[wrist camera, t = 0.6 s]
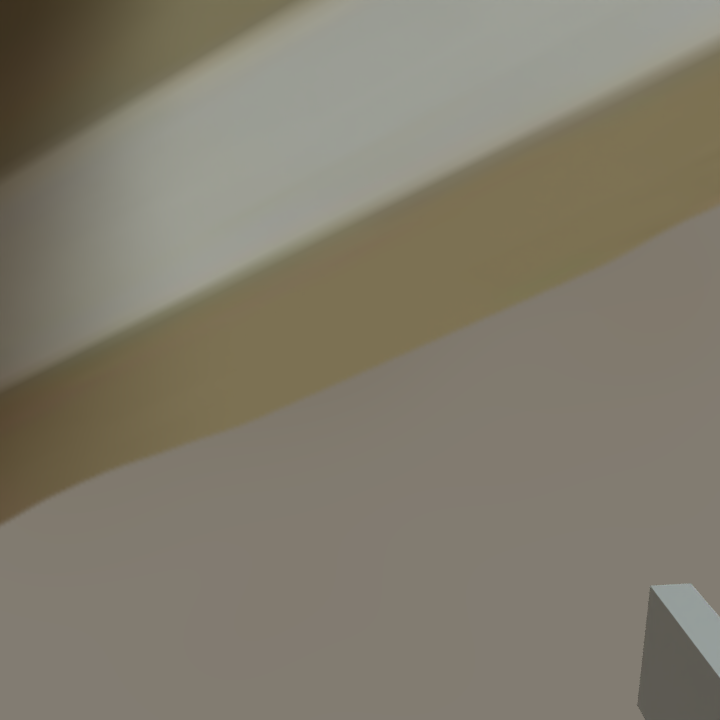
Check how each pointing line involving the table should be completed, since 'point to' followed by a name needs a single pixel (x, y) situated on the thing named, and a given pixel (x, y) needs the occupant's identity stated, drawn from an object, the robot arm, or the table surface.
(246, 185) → the table surface
